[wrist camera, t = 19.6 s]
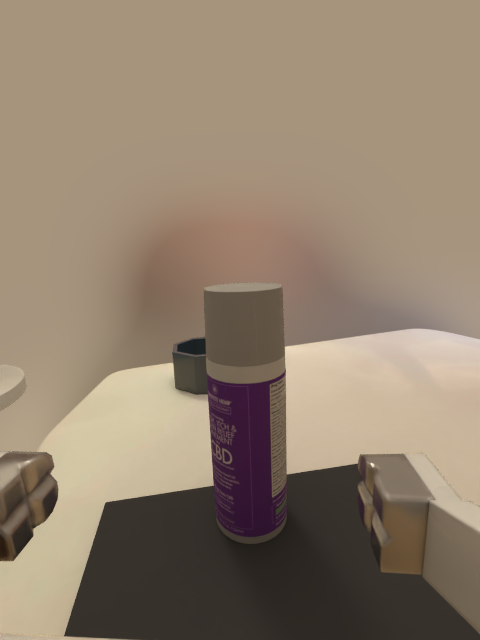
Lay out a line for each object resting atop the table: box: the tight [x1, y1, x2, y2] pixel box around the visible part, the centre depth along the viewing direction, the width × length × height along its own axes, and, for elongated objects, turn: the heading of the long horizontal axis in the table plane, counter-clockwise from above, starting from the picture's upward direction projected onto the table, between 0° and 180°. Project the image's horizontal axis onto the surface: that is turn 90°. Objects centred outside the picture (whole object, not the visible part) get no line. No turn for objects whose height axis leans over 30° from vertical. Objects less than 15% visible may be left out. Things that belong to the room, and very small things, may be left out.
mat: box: [64, 464, 480, 640], centre depth 18 cm, size 22×14×1 cm, turn 100°
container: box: [204, 283, 287, 544], centre depth 20 cm, size 5×5×15 cm
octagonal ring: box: [172, 337, 208, 394], centre depth 45 cm, size 9×9×5 cm
